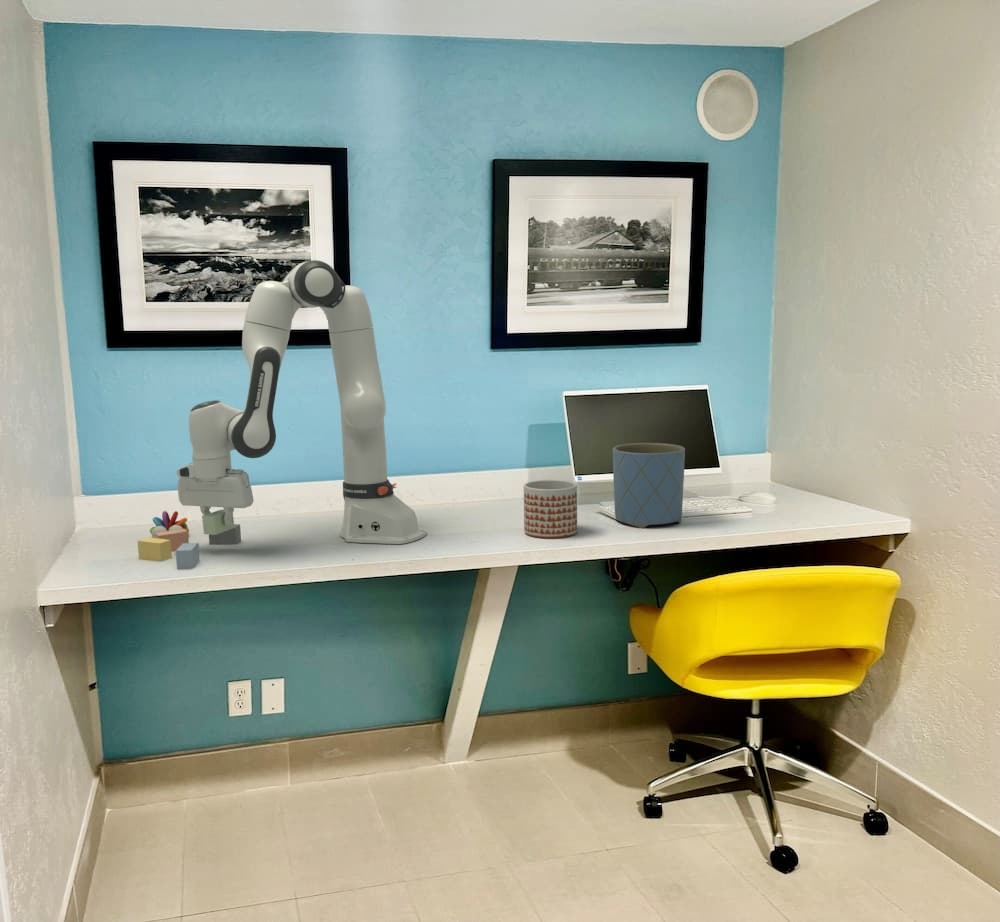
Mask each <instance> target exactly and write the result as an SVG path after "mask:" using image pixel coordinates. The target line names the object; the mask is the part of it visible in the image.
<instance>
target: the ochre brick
mask: <svg viewBox="0 0 1000 922" xmlns="http://www.w3.org/2000/svg"><path fill="white" fill-rule="evenodd" d="M137 549H138V553H137V554H138V559H140V560H148V561H155V562H164V561H166V560H169V559H172V557H173V556H172V555H173V554H172V553H173V551H171V540H167V539H157V538H153V537H145V538H142V539H140V540H139V539H138V540H137Z"/></svg>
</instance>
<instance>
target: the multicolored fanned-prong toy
mask: <svg viewBox="0 0 1000 922" xmlns="http://www.w3.org/2000/svg"><path fill="white" fill-rule="evenodd" d="M161 514H162V515H161V517H162V518H160V517H157V516H154V517H153V518H152V522H153V524H154V525H155V526H153V527H151V528H150V529H149V533H150V534H151V538H156V536H155V533H159V532H166V531H173V530H180V529H185V530H186V531H188V534H189V532H190V529H189V528H188V527H189V526H188V524H187V523H186V522H188V519H187V517H184V518H183V517H182V518H181V519H180V520H177V519H178V515H179V512H178V511H177V510H176V511H174V512H173V514H172V515H171V518H170V515H169V513H168V511H166V510H163V511H162V513H161Z"/></svg>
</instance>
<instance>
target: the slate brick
mask: <svg viewBox="0 0 1000 922" xmlns="http://www.w3.org/2000/svg"><path fill="white" fill-rule="evenodd" d="M199 549H200V548H199V542H189V543H183V544H182V545H181V546H180V547H179V548H178V549H177V550H176V551H175V559H176V561H175V562H176V570H189V569H190V570H191V569H192V570H193V569H194V568H195V567H196V565H197V564H198V563H199V562H200V550H199ZM194 566H195V567H194Z"/></svg>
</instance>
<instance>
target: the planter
mask: <svg viewBox="0 0 1000 922" xmlns="http://www.w3.org/2000/svg"><path fill="white" fill-rule="evenodd" d="M685 458H686V448H685V447H684V446H682V445H679V444H671V443H662V442H634V443H633V442H632V443H624V444H618V445H615V446H614V447H612V472H613V474H612V475H613V497H614V498H613V499H614V504H613V505H614V517H615V519H616V520H617V521H618V522H620V523H624V524H627V525H630V526H633V527H636V528H640V529H644V528H646V527H647V526H652V525H653V526H654V525H668V524H672V523H676V522H677V524H681V521H682V516H683V500H684V485H685V484H684V481H685V462H686V461H685V460H686V459H685Z"/></svg>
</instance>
